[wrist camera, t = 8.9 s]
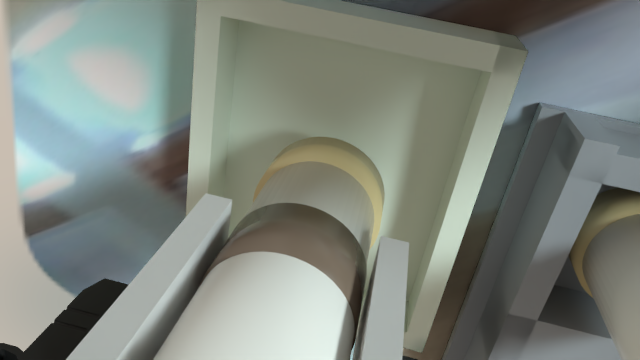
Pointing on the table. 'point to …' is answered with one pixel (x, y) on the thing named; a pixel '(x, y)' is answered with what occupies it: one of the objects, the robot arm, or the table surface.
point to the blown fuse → (290, 263)
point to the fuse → (613, 265)
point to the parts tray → (355, 115)
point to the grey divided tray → (546, 244)
